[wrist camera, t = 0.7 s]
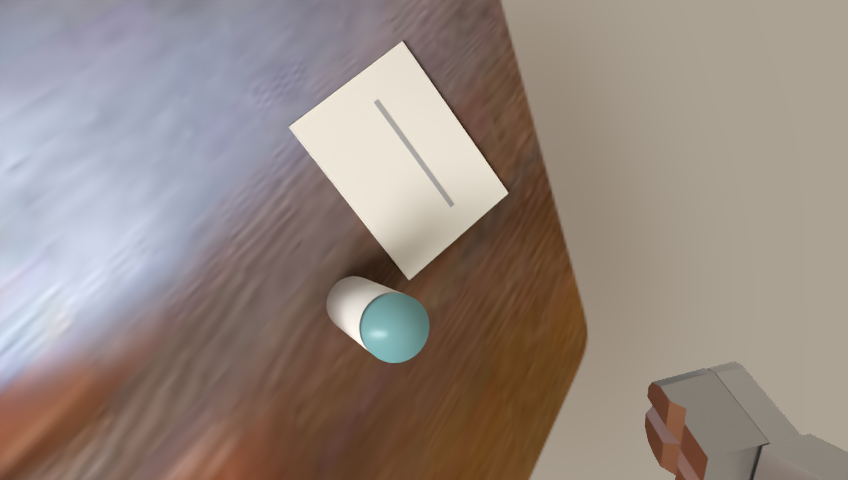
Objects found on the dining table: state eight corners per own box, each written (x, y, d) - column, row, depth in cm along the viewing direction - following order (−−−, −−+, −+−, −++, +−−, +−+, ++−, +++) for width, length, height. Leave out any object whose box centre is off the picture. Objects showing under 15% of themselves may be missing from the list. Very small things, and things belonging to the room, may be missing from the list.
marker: (311, 298, 52) (349, 326, 39) (353, 263, 53) (402, 279, 40) (345, 338, 53) (391, 377, 40) (384, 303, 54) (442, 330, 42)
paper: (288, 127, 50) (289, 126, 50) (401, 41, 53) (402, 40, 53) (408, 279, 54) (409, 280, 54) (507, 193, 57) (508, 193, 57)
